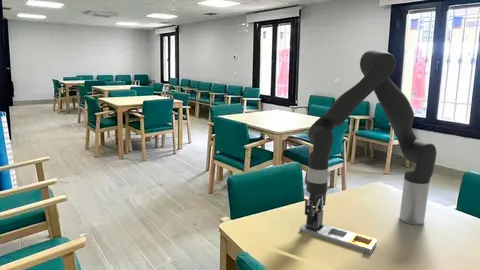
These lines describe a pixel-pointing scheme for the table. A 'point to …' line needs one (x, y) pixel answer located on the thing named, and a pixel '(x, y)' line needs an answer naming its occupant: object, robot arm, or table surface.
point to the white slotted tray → (343, 237)
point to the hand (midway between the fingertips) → (314, 220)
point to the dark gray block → (316, 220)
